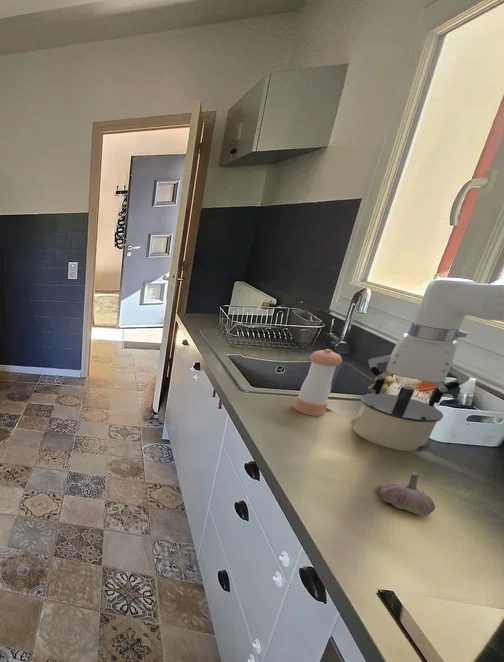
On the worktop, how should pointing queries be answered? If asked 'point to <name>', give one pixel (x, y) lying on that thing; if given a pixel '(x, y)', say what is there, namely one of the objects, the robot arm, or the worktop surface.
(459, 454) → the worktop surface
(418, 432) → the bowl
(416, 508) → the garlic bulb
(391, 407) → the lid
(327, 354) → the pepper shaker
